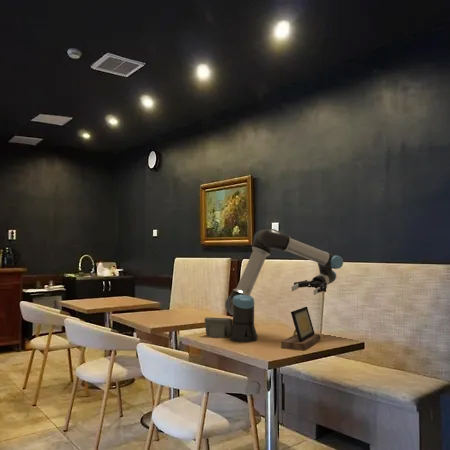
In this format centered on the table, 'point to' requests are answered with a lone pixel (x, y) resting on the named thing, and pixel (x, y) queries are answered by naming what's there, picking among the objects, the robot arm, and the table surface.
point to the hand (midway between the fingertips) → (302, 290)
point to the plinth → (303, 345)
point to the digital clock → (218, 327)
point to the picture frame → (302, 324)
